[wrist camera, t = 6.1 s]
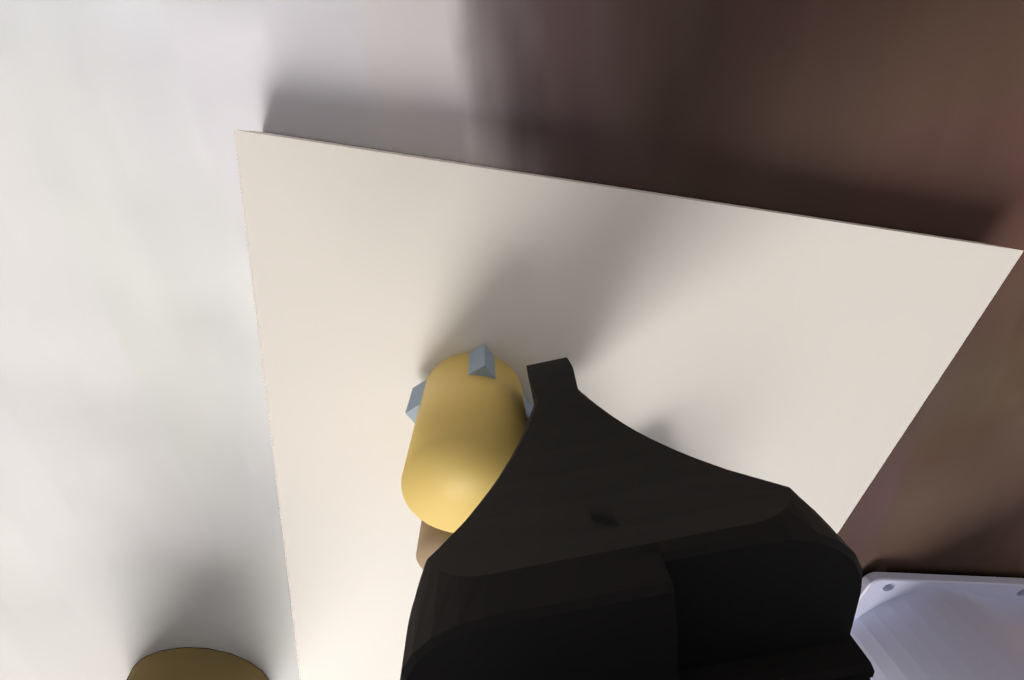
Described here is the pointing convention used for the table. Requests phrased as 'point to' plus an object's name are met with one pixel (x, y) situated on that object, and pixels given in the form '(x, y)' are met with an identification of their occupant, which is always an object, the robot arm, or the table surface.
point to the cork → (194, 666)
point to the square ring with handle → (461, 436)
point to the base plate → (564, 343)
